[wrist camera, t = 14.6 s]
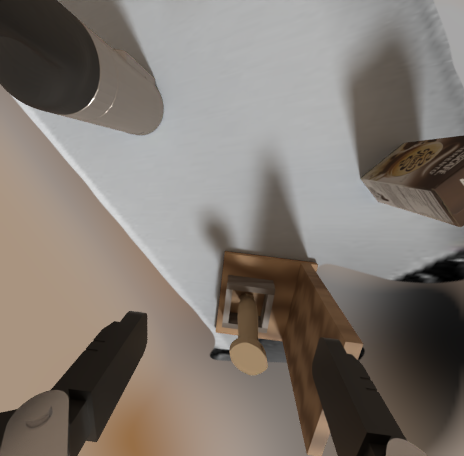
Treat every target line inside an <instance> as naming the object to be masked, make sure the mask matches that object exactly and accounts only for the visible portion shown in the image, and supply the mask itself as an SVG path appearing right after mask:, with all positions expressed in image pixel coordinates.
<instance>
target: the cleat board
mask: <svg viewBox="0 0 464 456" xmlns="http://www.w3.org/2000/svg"><path fill="white" fill-rule="evenodd" d="M317 267H318V264H317V263H314V262H306V261H298V260H291V259H283V258H275V257H267V256H259V255H252V254H244V253H236V252H228V251H225V255H224V264H223V272H222V281H221V290H220V299H219V308H218V316H217V325H216V332H217V333H225V334H232V335H238V318H237V317H238V306H239V302H240V297H241V295H244V294H245V293H248V294H250V295H253V296H254V298H255V300H254V301H255V303H256V306H257V312H258V338H262V339H269V340H277V341H283V346H284V350H285V355H286V359H287V364H288V369H289V373H290V377H291V382H292V387H293V392H294V396H295V401H296V406H297V410H298V415H299V420H300V424H301V429H302V434H303V438H304V443H305V447H306V452H307V455H313V456H322V453H323V451H324V448H325V446H326V443H327V440H328V437H329V435H330V430H329V427H328V423H327V420H326V417H325V414H324V411H323V408H322V405H321V402H320V398H319V395H318V392H317V389H316V386H315V383H314V380H313V376H312V362H313V358H314V355H315V352H316V348H317V345H318V341H319V339H320V338H321V337H323V338H331V339H338V340H339V341H340V342H341V343H342V345H343V347H344V349H345V351H346V353H347V354H352V355H353V356H354V357H355V358H356V359H357V360H358V357H359V354H360V352H361V349H362V346H363V343H362V341H361V340H360V338H359V337H358V335H357V334H356V332H355V331H354V329H353V328H352V326H351V325H350V323H349V322H348V320H347V318H346V317H345V316H344V314H343V312H342V311H341V309H340V308H339V306H338V305H337V303H336V302H335V300H334V299H333V297H332V296H331V294H330V293H329V291H328V290H327V288H326V287H325V285H324V284H323V282H322V281H321V279H320V278H319V276H318V275H317V273H316V271H317Z"/></svg>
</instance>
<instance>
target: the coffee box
mask: <svg viewBox="0 0 464 456" xmlns="http://www.w3.org/2000/svg"><path fill="white" fill-rule="evenodd" d="M361 180H362V181H363V183H364V184H365V185H366V187H367V188H368V189H369V190H370V192H371V193H372V194H373V196H374V197H375V198H376V199H377V201H378V202H381V203H384V204H388V205H391V206H394V207H398V208H401V209H404V210H407V211H411V212H414V213H417V214H420V215H424V216H427V217H430V218H433V219H436V220H440V221H443V222H446V223H449V224H452V225H455V226H458V227H462V226H463V225H464V136H456V137H448V138H441V139H433V140H424V141H416V142H407V143H404V144H402V145H401V146H400V147H399V148H398V149H396V150H395V151H394V152H393V153H391V154H390V155H389V156H388V157H386V158H385V159H384V160H383V161H381V162H380V163H379V164H378V165H377V166H375V167H374V168H373V169H372V170H370V171H369V172H368V173H367V174H365V175H364V176H363V177H362V178H361Z"/></svg>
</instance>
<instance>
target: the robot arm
mask: <svg viewBox="0 0 464 456" xmlns="http://www.w3.org/2000/svg"><path fill="white" fill-rule="evenodd" d="M0 84H1V85H2V86H3V87H4V89H5V90H6V91H7V92H9V93H10V94H11V95H12V96H13V97H15V98H16V99H18V100H19V101H21V102H22V103H24V104H26V105H28V106H31V107H33V108H36V109H39V110H42V111H46V112H50V113H54V114H57V115H61V116H65V117H69V118H73V119H77V120H80V121H84V122H88V123H92V124H96V125H100V126H104V127H107V128H111V129H115V130H119V131H123V132H126V133H129V134H135V135H146V134H149V133H151V132H153V131H154V130H155V129H156V128H157V127H158V126H159V124H160V123H161V120H162V117H163V109H164V106H163V101H162V98H161V95H160V93H159V91H158V90H157V88H156V85H155V78H153V77H152V76H151V75H150V74H149V73H148V72H147V71H146V70H145V69H144V68H143V67H142V66H141V65H140V64H139V63H138V62H137V61H135V60H134V59H133V58H132V57H131V56H130V55H129V54H128V53H127V52H126V51H124V50H117V49H112V48H111V47H110V46H109V45H108V44H106V43H105V42H104V41H103V40H102V39H101V38H99V37H98V36H97V35H96V34H95V33H94V32H92V31H91V30H90V29H89V28H88V27H87V26H85V25H84V24H83V23H82V22H81V21H80V20H79V19H77V18H76V17H75V16H74V15H73V14H72V13H71V12H69V11H68V10H67V9H66V8H65V7H64V6H63V5H62V4H60V3H59V2H58V1H57V0H0ZM146 344H147V314H146V313H141V312H134V311H129V312H128V313H127V314H126V315H125V316H124V318H123V319H122V320H121V322H115V321H114V322H113V323H111V324H110V325H108V326H107V327H105V328H104V329H102V330H101V332H100V333H99V334H98V335H97V336H96V338H95V339H94V341H93V342H91V343H90V345H89V346H88V347H87V348H86V350H85V351H84V352H83V353H82V354H81V355H80V356H79V357H78V359H77V360H76V361H75V362H74V363H73V364H72V366H71V367H70V368H69V369H68V370H67V372H66V373H65V374H64V375H63V376H62V378H61V379H60V380H59V381H58V382H57V383H56V384H55V386H54V387H53V388H52V389H51V390H50V391H46V392H43V393H41V394H38V395H36V396H34V397H33V398H31V399H30V400H28V401H27V402H25V403H24V404H23V405H22V406H21V407H19V408H18V409H16V410H12V411H7V412H2V413H0V456H77V455H78V454H79V452H80V450H81V448H82V447H83V445H84V443H85V441H92V442H97V441H98V439H99V437H100V435H101V433H102V431H103V430H104V428H105V426H106V424H107V422H108V420H109V418H110V416H111V414H112V413H113V410H114V409H115V407H116V405H117V403H118V401H119V399H120V397H121V395H122V393H123V392H124V390H125V388H126V386H127V384H128V382H129V380H130V378H131V376H132V375H133V373H134V371H135V369H136V367H137V365H138V363H139V361H140V359H141V358H142V356H143V353H144V351H145V348H146ZM312 376H313V380H314V383H315V386H316V389H317V392H318V395H319V398H320V402H321V405H322V408H323V411H324V414H325V417H326V420H327V423H328V427H329V430H330V433H331V436H332V439H333V442H334V445H335V448H336V452H337V455H338V456H427V455H426V454H425V453H424V452H423V451H422V450H420V449H419V448H418V447H417V446H415V445H413V444H412V443H410V442H408V441H407V440H406V438H405V437H404V435H403V433H402V431H401V430H400V428H399V426H398V425H397V423H396V421H395V419H394V418H393V416H392V414H391V413H390V411H389V409H388V408H387V406H386V404H385V402H384V401H383V399H382V397H381V396H380V394H379V392H377V389H376V387H375V385H374V384H373V382H372V381H371V380H370V377H369V376H368V373H367V372H366V370H365V368H364V367H363V365H362V364H361V363H360V362H359V361H358V360H357V359H356V358H355V357H354V356H353V355H352V354H347V353H346V351H345V349H344V347H343V345H342V343H341V342H340V341H339V340H338V339H331V338H323V337H321V338H320V339H319V341H318V345H317V348H316V352H315V355H314V358H313V362H312Z"/></svg>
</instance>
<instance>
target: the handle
mask: <svg viewBox="0 0 464 456" xmlns="http://www.w3.org/2000/svg"><path fill="white" fill-rule="evenodd" d="M254 300H255V298H254V296H253V295H250V294H248V293H245V294H244V295H241V297H240V302H239V306H238V317H237V318H238V339H236V340H234V341H233V342H232V344H231V345H230V356H231V360H232V362H233V363H234V365H235V366H236V367H237V368H238V369H239V370H241V371H242V372H244V373H246V374H248V375H257V374H260V373H262V372H264V371H265V370H266V368H267V367H268V365H267V357H266V352H265V350H264V348H263V346H262V344H261V343H260V342H258V312H257V306H256V303H255V301H254Z"/></svg>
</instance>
